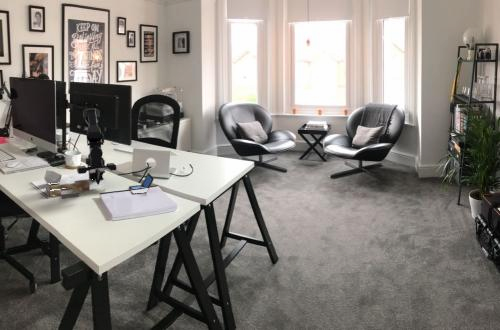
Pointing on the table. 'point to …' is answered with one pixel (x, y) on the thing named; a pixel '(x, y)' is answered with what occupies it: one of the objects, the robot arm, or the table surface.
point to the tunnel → (58, 192)
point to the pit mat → (70, 195)
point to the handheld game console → (144, 182)
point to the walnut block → (82, 185)
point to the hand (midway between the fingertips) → (98, 184)
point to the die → (52, 176)
